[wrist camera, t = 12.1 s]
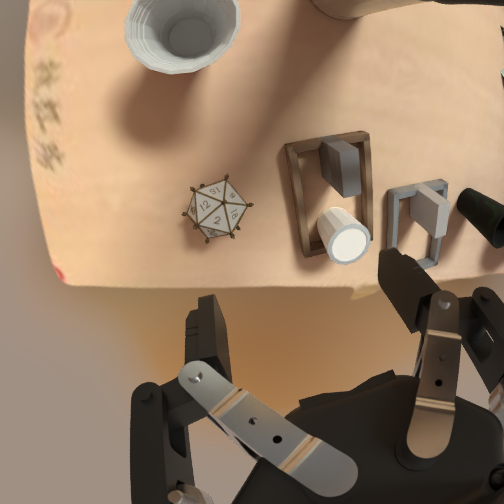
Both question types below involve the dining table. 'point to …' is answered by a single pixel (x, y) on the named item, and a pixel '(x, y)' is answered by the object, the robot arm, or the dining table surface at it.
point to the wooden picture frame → (334, 177)
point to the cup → (483, 215)
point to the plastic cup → (181, 32)
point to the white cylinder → (342, 235)
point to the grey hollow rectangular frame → (421, 214)
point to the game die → (216, 209)
